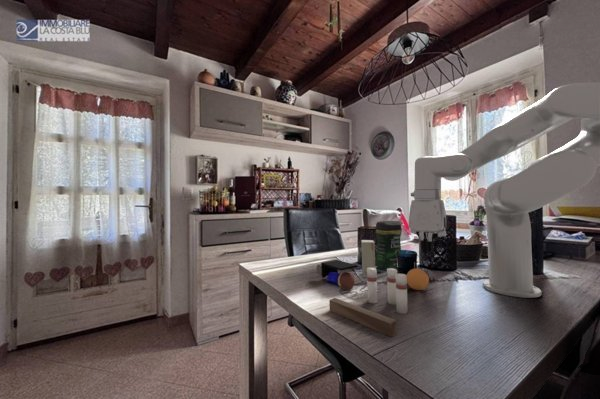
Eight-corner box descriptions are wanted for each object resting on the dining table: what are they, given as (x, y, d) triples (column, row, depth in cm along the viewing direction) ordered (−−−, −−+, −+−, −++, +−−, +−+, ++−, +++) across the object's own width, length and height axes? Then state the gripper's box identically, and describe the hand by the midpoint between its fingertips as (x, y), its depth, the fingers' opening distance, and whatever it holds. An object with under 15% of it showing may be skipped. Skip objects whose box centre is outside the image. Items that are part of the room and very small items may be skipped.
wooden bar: (335, 307, 60) (334, 297, 60) (396, 333, 48) (396, 320, 48) (329, 310, 59) (329, 300, 59) (391, 336, 47) (390, 323, 47)
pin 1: (371, 299, 65) (370, 267, 66) (379, 301, 64) (378, 268, 64) (365, 301, 64) (365, 268, 64) (373, 304, 62) (372, 270, 62)
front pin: (390, 300, 64) (389, 267, 64) (399, 302, 62) (398, 269, 63) (386, 302, 63) (385, 269, 63) (394, 305, 61) (393, 271, 61)
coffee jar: (386, 272, 90) (385, 221, 91) (373, 267, 98) (371, 220, 98) (407, 269, 94) (405, 220, 94) (392, 264, 101) (390, 219, 102)
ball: (412, 284, 76) (411, 265, 76) (432, 289, 71) (432, 269, 71) (402, 289, 72) (402, 269, 72) (423, 294, 67) (423, 273, 68)
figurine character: (315, 284, 83) (342, 292, 70) (314, 261, 84) (340, 265, 71) (332, 280, 86) (361, 288, 73) (330, 258, 87) (358, 262, 74)
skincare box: (376, 278, 83) (375, 242, 83) (362, 278, 84) (361, 242, 84) (374, 273, 89) (373, 239, 90) (362, 272, 90) (361, 239, 91)
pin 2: (399, 308, 59) (398, 273, 59) (409, 311, 57) (408, 275, 58) (394, 311, 58) (393, 275, 58) (404, 314, 56) (403, 277, 56)
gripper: (399, 195, 82) (399, 250, 82) (449, 195, 70) (448, 259, 70) (409, 196, 87) (409, 248, 86) (458, 195, 75) (457, 255, 75)
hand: (427, 252), depth 78 cm, fingers closed
